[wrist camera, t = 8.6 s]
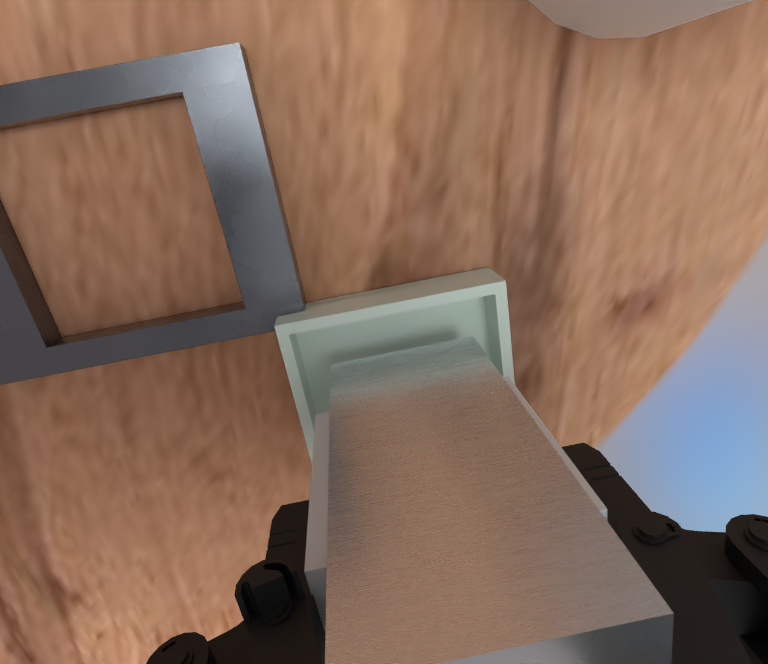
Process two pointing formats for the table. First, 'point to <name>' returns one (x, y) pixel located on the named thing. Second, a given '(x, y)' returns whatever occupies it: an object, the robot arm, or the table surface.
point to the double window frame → (229, 189)
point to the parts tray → (390, 330)
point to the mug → (628, 15)
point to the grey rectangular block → (468, 528)
